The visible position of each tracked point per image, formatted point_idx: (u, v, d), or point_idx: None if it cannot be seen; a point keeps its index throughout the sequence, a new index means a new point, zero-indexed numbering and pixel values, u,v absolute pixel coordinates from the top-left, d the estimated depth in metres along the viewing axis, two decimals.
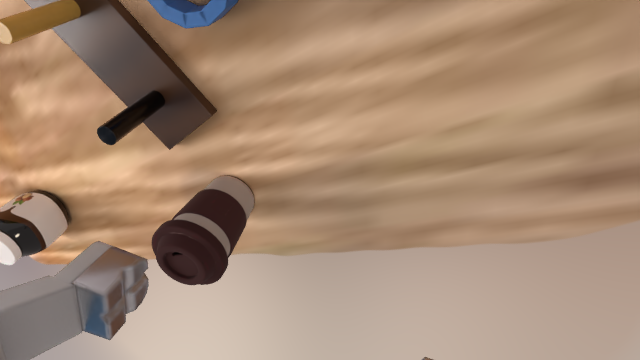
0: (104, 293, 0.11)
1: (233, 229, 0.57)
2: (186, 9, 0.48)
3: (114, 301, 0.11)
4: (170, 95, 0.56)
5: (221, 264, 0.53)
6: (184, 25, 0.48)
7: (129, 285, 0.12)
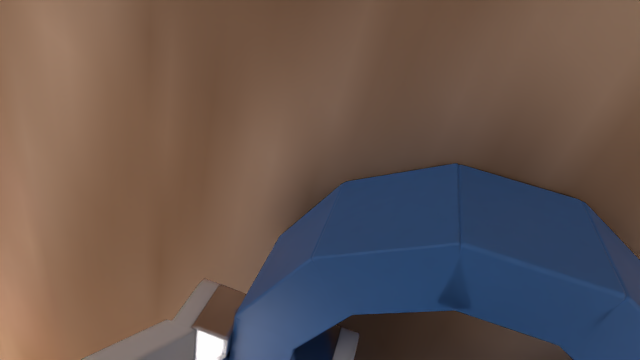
0: (226, 338, 0.10)
1: None
2: None
3: None
4: None
5: None
6: None
7: None
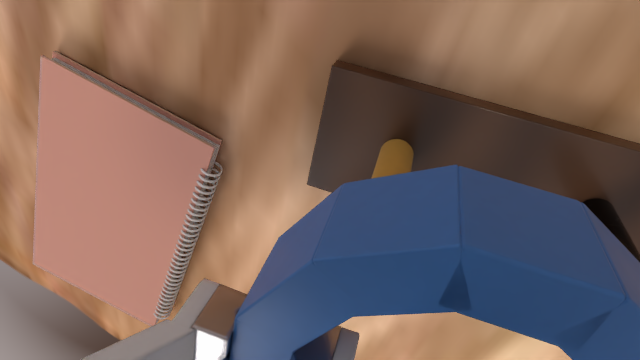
0: (226, 338, 0.10)
1: None
2: None
3: None
4: (624, 191, 0.28)
5: None
6: None
7: None
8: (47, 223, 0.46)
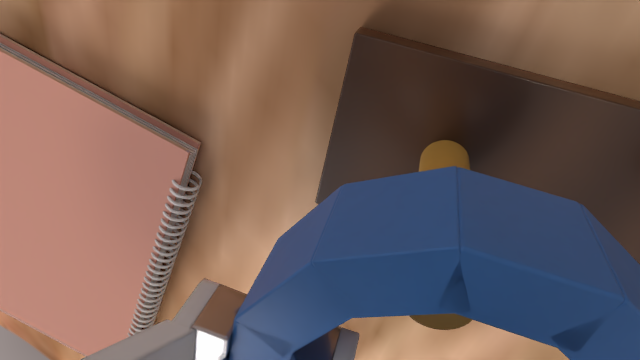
0: (226, 338, 0.10)
1: None
2: None
3: None
4: None
5: None
6: None
7: None
8: None
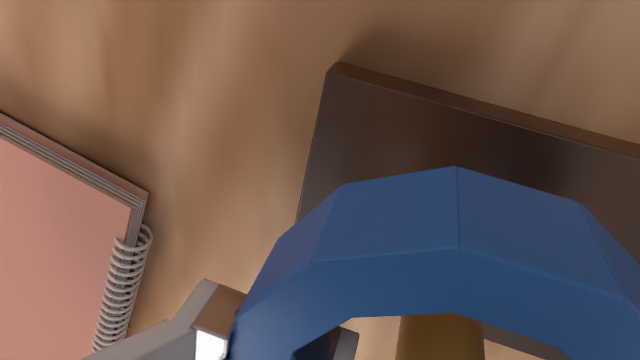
0: (225, 338, 0.10)
1: None
2: None
3: (230, 344, 0.11)
4: None
5: None
6: None
7: None
8: None
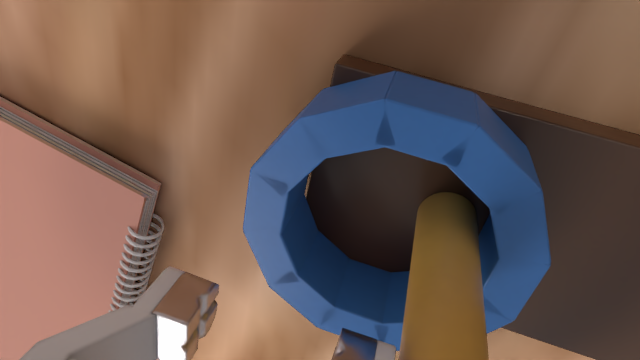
0: (185, 323, 0.10)
1: None
2: None
3: (192, 330, 0.11)
4: None
5: None
6: None
7: (203, 312, 0.12)
8: None
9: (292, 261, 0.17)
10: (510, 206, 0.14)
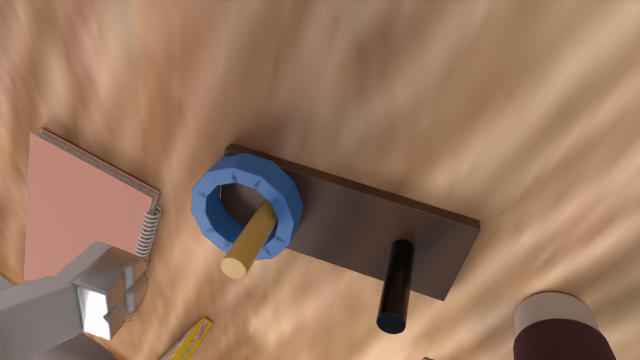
0: (104, 293, 0.11)
1: None
2: None
3: (114, 301, 0.11)
4: (417, 235, 0.43)
5: None
6: (269, 256, 0.45)
7: (129, 285, 0.12)
8: (35, 248, 0.60)
9: (210, 223, 0.45)
10: (276, 202, 0.41)
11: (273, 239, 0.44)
